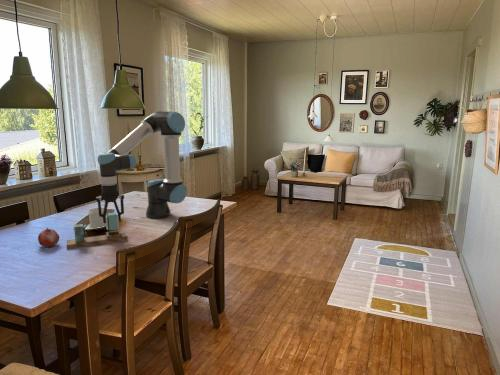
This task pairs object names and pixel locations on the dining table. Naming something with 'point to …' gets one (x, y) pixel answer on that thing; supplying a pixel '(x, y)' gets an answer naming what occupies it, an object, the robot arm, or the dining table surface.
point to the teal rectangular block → (112, 221)
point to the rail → (93, 238)
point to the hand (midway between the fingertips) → (112, 228)
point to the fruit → (48, 238)
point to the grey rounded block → (96, 218)
